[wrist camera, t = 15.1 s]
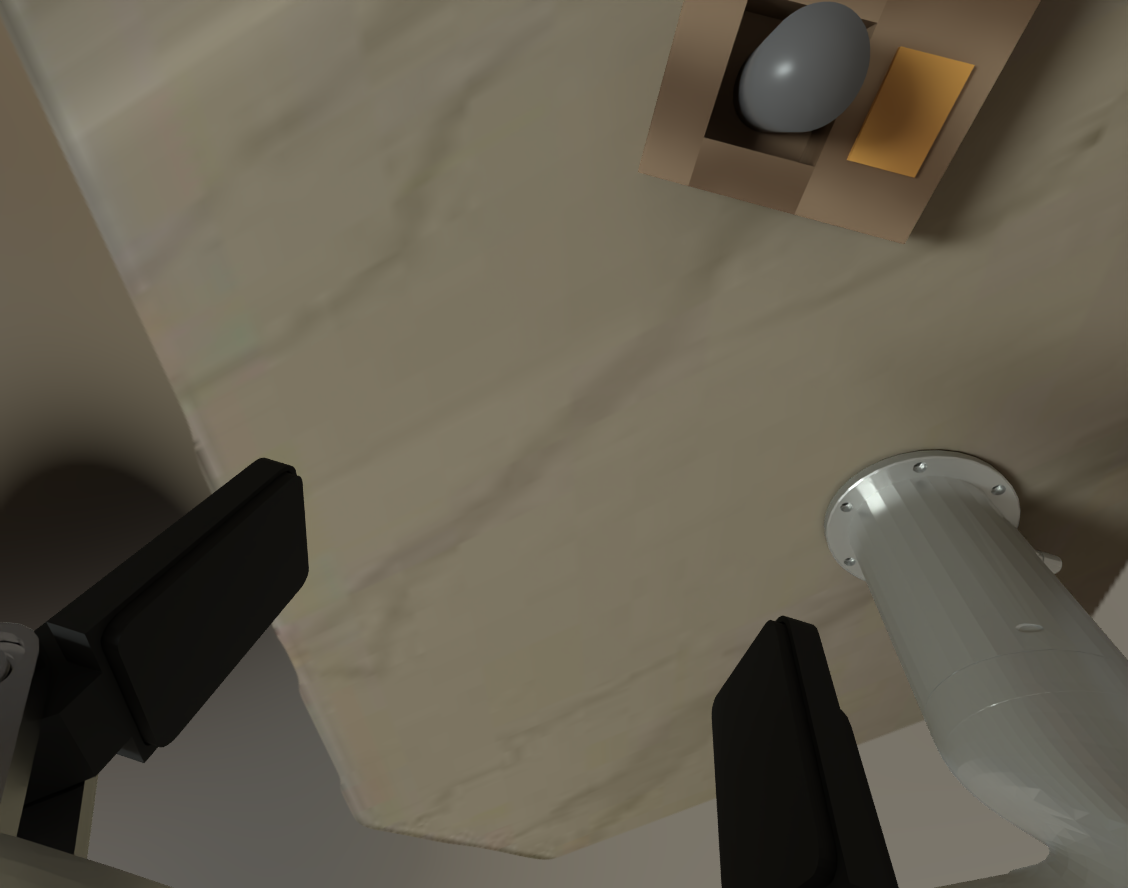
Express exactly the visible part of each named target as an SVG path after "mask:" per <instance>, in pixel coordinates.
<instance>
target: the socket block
mask: <svg viewBox="0 0 1128 888" xmlns="http://www.w3.org/2000/svg"><path fill="white" fill-rule="evenodd" d="M1040 1H1041V0H684V1H683V5H682V9H681V13H680V16H679V20H678V24H677V28H676V31H675V35H674V39H673V43H672V46H671V50H670V54H669V57H668V61H667V65H666V69H665V72H664V76H663V80H662V84H661V87H660V91H659V95H658V99H657V102H656V106H655V110H654V114H653V117H652V121H651V125H650V128H649V132H648V136H647V140H646V143H645V147H644V151H643V155H642V158H641V162H640V166H639V170H638V172H639V173H643V174H647V175H650V176H654V177H658V178H661V179H665V180H669V181H672V182H676V183H680V184H684V185H687V186H691V187H695V188H698V189H702V190H706V191H709V192H713V193H717V194H721V195H724V196H728V197H732V198H735V199H739V200H743V201H746V202H750V203H754V204H758V205H761V206H765V207H769V208H772V209H776V210H780V211H783V212H787V213H791V214H795V215H798V216H802V217H806V218H809V219H813V220H817V221H820V222H824V223H828V224H832V225H835V226H839V227H843V228H846V229H850V230H854V231H857V232H861V233H865V234H868V235H872V236H876V237H880V238H883V239H887V240H891V241H894V242H898V243H902V244H905V242H906V240H907V239H908V237H909V235H910V233H911V232H912V230H913V228H914V226H915V224H916V223H917V221H918V219H919V217H920V215H921V214H922V212H923V210H924V208H925V207H926V205H927V203H928V201H929V199H930V198H931V196H932V194H933V192H934V190H935V189H936V187H937V185H938V183H939V182H940V180H941V178H942V176H943V174H944V173H945V171H946V169H947V167H948V165H949V164H950V162H951V160H952V158H953V157H954V155H955V153H956V151H957V149H958V148H959V146H960V144H961V142H962V140H963V139H964V137H965V135H966V133H967V132H968V130H969V128H970V126H971V124H972V123H973V121H974V119H975V117H976V115H977V114H978V112H979V110H980V108H981V107H982V105H983V103H984V101H985V99H986V98H987V96H988V94H989V92H990V90H991V89H992V87H993V85H994V83H995V81H996V80H997V78H998V76H999V74H1000V73H1001V71H1002V69H1003V67H1004V65H1005V64H1006V62H1007V60H1008V58H1009V56H1010V55H1011V53H1012V51H1013V49H1014V48H1015V46H1016V44H1017V42H1018V40H1019V39H1020V37H1021V35H1022V33H1023V31H1024V30H1025V28H1026V26H1027V24H1028V23H1029V21H1030V19H1031V17H1032V15H1033V14H1034V12H1035V10H1036V8H1037V6H1038V5H1039V3H1040ZM817 2H836V3H840V4H843V5H845V6H847V7H849V8H851V9H852V10H853V11H854V12H855V13H857V15H858V16H859V17H860V18H861V20H862V21H863V23H864V25H865V27H866V29H867V32H868V36H869V40H870V61H869V67H868V71H867V75H866V77H865V80H864V83H863V85H862V87H861V89H860V91H859V93H858V94H857V96H856V97H855V99H854V100H853V102H852V103H851V104H850V105H849V107H848V108H847V109H846V110H845V111H844V112H843V113H842V114H841V115H839V116H838V117H837V118H836V119H834V120H833V121H832V122H830V123H828V124H827V125H825V126H823V127H820V128H818V129H815V130H812V131H807V132H757V131H754V130H752V129H750V128H748V127H747V126H746V125H744V124H743V123H742V121H741V120H740V119H739V117H738V115H737V113H736V111H735V108H734V103H733V89H734V84H735V80H736V77H737V74H738V72H739V70H740V68H741V66H742V65H743V63H744V62H745V60H746V59H747V58H748V57H749V56H750V54H751V53H752V52H753V51H754V50H755V49H756V48H757V47H758V46H759V45H760V44H761V43H762V42H763V41H764V40H765V39H766V38H767V37H768V36H769V35H770V34H771V33H772V32H773V31H774V30H775V29H776V27H777V26H778V25H779V24H780V23H781V22H782V21H783V20H784V19H786V18H787V17H788V16H789V15H791V14H792V13H794V12H795V11H797V10H798V9H800V8H802V7H804V6H807V5H810V4H813V3H817Z"/></svg>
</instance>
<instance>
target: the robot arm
mask: <svg viewBox="0 0 1128 888" xmlns="http://www.w3.org/2000/svg"><path fill="white" fill-rule="evenodd" d="M1020 513H1021V510H1020V504H1019V498H1018V496H1017V494H1016V492H1015V490H1014V488H1013V486H1012V485H1011V484H1010V483H1009V482H1008V481H1007V480H1006V478H1005V477H1004V476H1003V475H1002V474H1001V473H1000V472H999V471H997V470H996V469H995V468H994V467H992V466H991V465H990V464H988V463H986V462H984V461H982V460H980V459H978V458H976V457H973V456H970V455H966V454H963V453H959V452H952V451H943V450H928V451H916V452H910V453H904V454H900V455H896V456H893V457H890V458H887V459H884V460H881V461H879V462H877V463H875V464H873V465H871V466H869V467H867V468H865V469H863V470H862V471H860V472H859V473H857V474H856V475H854V476H853V477H852V478H850V479H849V480H848V481H847V482H846V483H845V484H844V485H843V486H842V487H841V488H840V489H839V490H838V492H837V493H836V494H835V496H834V497H833V499H832V500H831V502H830V504H829V506H828V509H827V511H826V515H825V520H824V533H825V538H826V541H827V544H828V547H829V549H830V551H831V553H832V555H833V557H834V559H835V560H836V561H837V562H838V563H839V565H840V566H841V567H842V568H844V569H845V570H846V571H848V572H849V573H850V574H852V575H853V576H855V577H857V578H859V579H862V580H864V581H866V582H867V584H868V587H869V589H870V592H871V594H872V596H873V599H874V601H875V603H876V606H877V608H878V611H879V613H880V615H881V618H882V620H883V622H884V625H885V627H886V629H887V632H888V634H889V637H890V639H891V641H892V644H893V646H894V648H895V651H896V653H897V655H898V658H899V660H900V663H901V665H902V667H903V670H904V672H905V674H906V677H907V679H908V681H909V684H910V686H911V689H912V691H913V693H914V696H915V698H916V700H917V703H918V705H919V707H920V710H921V712H922V715H923V717H924V719H925V722H926V724H927V726H928V729H929V731H930V733H931V736H932V738H933V741H934V743H935V745H936V747H937V749H938V751H939V753H940V755H941V757H942V759H943V760H944V762H945V763H946V765H947V766H948V768H949V769H950V771H951V772H952V773H953V775H954V776H955V777H956V778H957V779H958V780H959V782H960V783H961V784H962V785H963V786H964V787H965V788H966V789H967V790H968V791H969V792H970V793H971V794H972V795H973V796H974V797H976V798H977V799H978V800H979V801H980V802H982V803H983V804H984V805H985V806H987V807H988V808H989V809H991V810H992V811H994V812H995V813H996V814H998V815H999V816H1001V817H1002V818H1004V819H1005V820H1007V821H1008V822H1010V823H1012V824H1013V825H1015V826H1016V827H1018V828H1019V829H1021V830H1022V831H1024V832H1026V833H1027V834H1029V835H1030V836H1032V837H1034V838H1035V839H1037V840H1039V841H1040V842H1042V843H1043V844H1045V845H1047V846H1048V847H1049V855H1048V856H1047V858H1046V859H1045V860H1044V861H1042V862H1040V863H1038V864H1036V865H1031V866H1028V867H1023V868H1019V869H1015V870H1012V871H1010V872H1009V873H1008V874H1004V875H998V876H993V877H988V878H983V879H977V880H973V881H967V882H962V883H957V884H951V885H947V886H941V887H936V888H1128V660H1127V659H1126V657H1125V656H1124V655H1123V654H1122V653H1121V652H1120V651H1119V649H1118V648H1117V647H1116V646H1115V645H1114V644H1113V642H1112V641H1111V640H1110V639H1109V638H1108V637H1107V635H1106V634H1105V633H1104V632H1103V631H1102V630H1101V628H1100V627H1099V626H1098V625H1097V624H1096V623H1095V621H1094V620H1093V619H1092V618H1091V617H1090V616H1089V614H1088V613H1087V612H1086V611H1085V610H1084V609H1083V607H1082V606H1081V605H1080V604H1079V603H1078V602H1077V600H1076V599H1075V598H1074V597H1073V596H1072V595H1071V593H1070V592H1069V591H1068V590H1067V589H1066V588H1065V586H1064V585H1063V584H1062V583H1061V582H1060V581H1059V579H1058V578H1057V577H1056V576H1055V575H1054V574H1056V573H1057V572H1059V571H1060V569H1061V568H1062V561H1061V559H1060V557H1058V556H1056V555H1053V554H1050V553H1046V552H1043V551H1039V550H1035V549H1034V548H1033V547H1032V546H1031V545H1030V543H1029V542H1028V541H1027V540H1026V539H1025V538H1024V536H1023V535H1022V534H1021V533H1020V532H1019V531H1018V529H1017V528H1018V526H1019V521H1020ZM308 572H309V565H308V551H307V538H306V524H305V510H304V497H303V483H302V478H301V477H300V476H297V474H296V470H295V468H294V467H293V466H290V465H287V464H284V463H280V462H277V461H274V460H270V459H267V458H260V459H258V460H256V461H254V462H253V463H252V464H251V465H249V466H248V467H247V468H245V469H244V470H243V471H241V472H240V473H239V474H238V475H236V476H235V477H234V478H232V479H231V480H230V481H229V482H227V483H226V484H225V485H223V486H222V487H221V488H219V489H218V490H217V491H216V492H214V493H213V494H212V495H210V496H209V497H208V498H207V499H205V500H204V501H203V502H201V503H200V504H199V505H197V506H196V507H195V508H193V509H192V510H191V511H190V512H188V513H187V514H186V515H185V516H183V517H182V518H180V519H179V520H178V521H177V522H175V523H174V524H173V525H171V526H170V527H169V528H167V529H166V530H165V531H164V532H162V533H161V534H160V535H158V536H157V537H156V538H154V539H153V540H152V541H151V542H149V543H148V544H147V545H145V546H144V547H143V548H141V549H140V550H139V551H138V552H136V553H135V554H134V555H132V556H131V557H130V558H128V559H127V560H126V561H125V562H123V563H122V564H121V565H119V566H118V567H117V568H115V569H114V570H113V571H112V572H110V573H109V574H108V575H107V576H105V577H104V578H102V579H101V580H100V581H99V582H97V583H96V584H95V585H93V586H92V587H91V588H89V589H88V590H87V591H86V592H84V593H83V594H82V595H80V596H79V597H78V598H76V599H75V600H74V601H73V602H71V603H70V604H69V605H67V606H66V607H65V608H63V609H62V610H61V611H60V612H58V613H57V614H56V615H54V616H53V617H52V618H50V619H49V620H48V621H47V622H46V623H44V624H43V625H42V626H40V627H39V628H38V629H36V630H35V631H33V630H32V629H30V628H28V627H26V626H23V625H21V624H16V623H5V622H0V888H173V887H170V886H167V885H164V884H160V883H158V882H155V881H152V880H149V879H146V878H143V877H140V876H137V875H134V874H131V873H128V872H125V871H123V870H120V869H116V868H114V867H110V866H107V865H104V864H101V863H98V862H94V861H91V860H88V859H87V854H88V847H89V840H90V832H91V825H92V817H93V810H94V802H95V795H96V787H97V780H98V773H99V772H100V771H101V770H102V769H103V768H104V767H105V766H106V764H107V763H108V762H109V761H110V760H111V759H112V758H113V757H114V756H115V755H116V754H119V755H121V756H125V757H127V758H131V759H133V760H136V761H139V762H142V763H145V761H146V760H147V759H148V758H149V757H150V756H151V755H152V754H153V752H154V751H155V750H156V748H158V747H164V746H167V745H168V744H169V743H171V742H172V741H173V740H174V739H175V738H176V737H177V736H178V735H179V734H180V732H181V731H182V730H183V729H184V727H185V726H186V725H187V724H188V723H189V721H190V720H191V719H192V718H193V717H194V715H195V714H196V713H197V712H198V711H199V710H200V708H201V707H202V706H203V705H204V704H205V702H206V701H207V700H208V699H209V698H210V696H211V695H212V694H213V693H214V691H215V690H216V689H217V688H218V687H219V686H220V684H221V683H222V682H223V681H224V679H225V678H226V677H227V676H228V675H229V674H230V672H231V671H232V670H233V669H234V667H235V666H236V665H237V664H238V663H239V662H240V660H241V659H242V658H243V657H244V655H245V654H246V653H247V652H248V651H249V649H250V648H251V647H252V646H253V645H254V643H255V642H256V641H257V640H258V639H259V638H260V636H261V635H262V634H263V633H264V632H265V630H266V629H267V628H268V627H269V625H270V624H271V623H272V622H273V621H274V620H275V618H276V617H277V616H278V615H279V614H280V612H281V611H282V610H283V609H284V608H285V606H286V605H287V604H288V603H289V602H290V600H291V599H292V598H293V597H294V596H295V594H296V593H297V592H298V591H299V590H300V588H301V587H302V586H303V584H304V582H305V581H306V578H307V576H308ZM712 730H713V747H714V764H715V781H716V798H717V812H718V813H717V814H718V832H719V850H720V865H721V884H722V888H899V887H898V884H897V880H896V877H895V874H894V870H893V867H892V863H891V860H890V856H889V853H888V850H887V847H886V843H885V839H884V836H883V833H882V829H881V826H880V822H879V819H878V816H877V812H876V809H875V806H874V802H873V799H872V795H871V792H870V789H869V785H868V782H867V778H866V775H865V772H864V768H863V765H862V761H861V758H860V755H859V751H858V748H857V744H856V741H855V737H854V734H853V731H852V727H851V725H850V722H849V720H848V717H847V716H846V715H845V713H844V712H843V711H842V710H840V706H839V703H838V699H837V696H836V692H835V689H834V685H833V682H832V678H831V675H830V671H829V668H828V664H827V661H826V657H825V654H824V650H823V647H822V643H821V639H820V636H819V633H818V630H817V628H816V627H815V626H814V625H812V624H809V623H806V622H802V621H799V620H796V619H793V618H789V617H786V616H780V617H779V618H778V619H777V620H776V621H772V620H769V621H768V622H767V623H766V624H765V625H764V627H763V628H762V630H761V631H760V633H759V634H758V636H757V637H756V638H755V640H754V641H753V643H752V644H751V646H750V647H749V649H748V650H747V652H746V653H745V655H744V656H743V657H742V659H741V660H740V662H739V663H738V665H737V666H736V668H735V669H734V671H733V672H732V674H731V675H730V677H729V678H728V679H727V681H726V682H725V684H724V685H723V687H722V688H721V690H720V691H719V693H718V694H717V696H716V697H715V700H714V703H713V707H712Z"/></svg>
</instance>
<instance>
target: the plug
mask: <svg viewBox="0 0 1128 888" xmlns="http://www.w3.org/2000/svg"><path fill="white" fill-rule="evenodd" d="M869 61H870V40H869V36H868V32H867V29H866V27H865V25H864V23H863V21H862V20H861V18H860V17H859V16H858V15H857V13H855V12H854V11H853V10H852V9H851V8H849V7H847V6H845V5H843V4H840V3H836V2H817V3H813V4H810V5H807V6H804V7H802V8H800V9H798V10H797V11H795V12H794V13H792V14H791V15H789V16H788V17H787V18H786V19H784V20H783V21H782V22H781V23H780V24H779V25H778V26H777V27H776V29H775V30H774V31H773V32H772V33H771V34H770V35H769V36H768V37H767V38H766V39H765V40H764V41H763V42H762V43H761V44H760V45H759V46H758V47H757V48H756V49H755V50H754V51H753V52H752V53H751V54H750V56H749V57H748V58H747V59H746V60H745V62H744V63H743V65H742V66H741V68H740V70H739V72H738V74H737V77H736V80H735V84H734V89H733V103H734V108H735V111H736V113H737V115H738V117H739V119H740V120H741V121H742V123H743V124H744V125H746V126H747V127H748V128H750V129H752V130H754V131H757V132H807V131H812V130H815V129H818V128H820V127H823V126H825V125H827V124H828V123H830V122H832V121H833V120H834V119H836V118H837V117H838V116H839V115H841V114H842V113H843V112H844V111H845V110H846V109H847V108H848V107H849V105H850V104H851V103H852V102H853V100H854V99H855V97H856V96H857V94H858V93H859V91H860V89H861V87H862V85H863V83H864V80H865V77H866V75H867V71H868V67H869Z"/></svg>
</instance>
